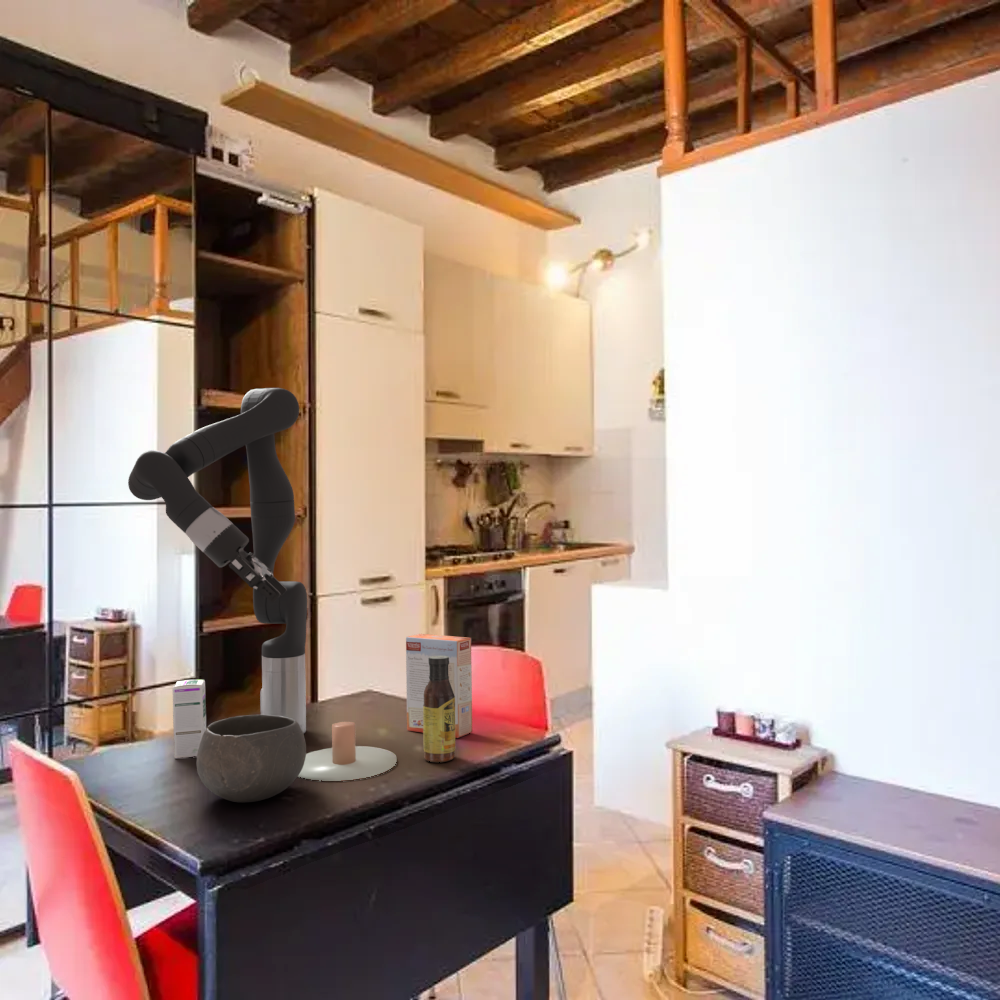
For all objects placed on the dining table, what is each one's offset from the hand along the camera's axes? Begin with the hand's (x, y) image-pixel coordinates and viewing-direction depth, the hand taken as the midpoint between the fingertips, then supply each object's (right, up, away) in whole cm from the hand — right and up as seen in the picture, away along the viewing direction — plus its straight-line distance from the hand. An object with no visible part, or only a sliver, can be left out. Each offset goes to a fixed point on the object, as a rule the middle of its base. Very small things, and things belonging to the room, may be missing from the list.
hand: (280, 596), depth 159 cm
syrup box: (-21, -33, +10) cm, 40 cm away
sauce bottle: (+30, -32, +5) cm, 44 cm away
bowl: (-1, -33, -15) cm, 36 cm away
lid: (+12, -33, +2) cm, 35 cm away
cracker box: (+28, -33, +24) cm, 50 cm away
